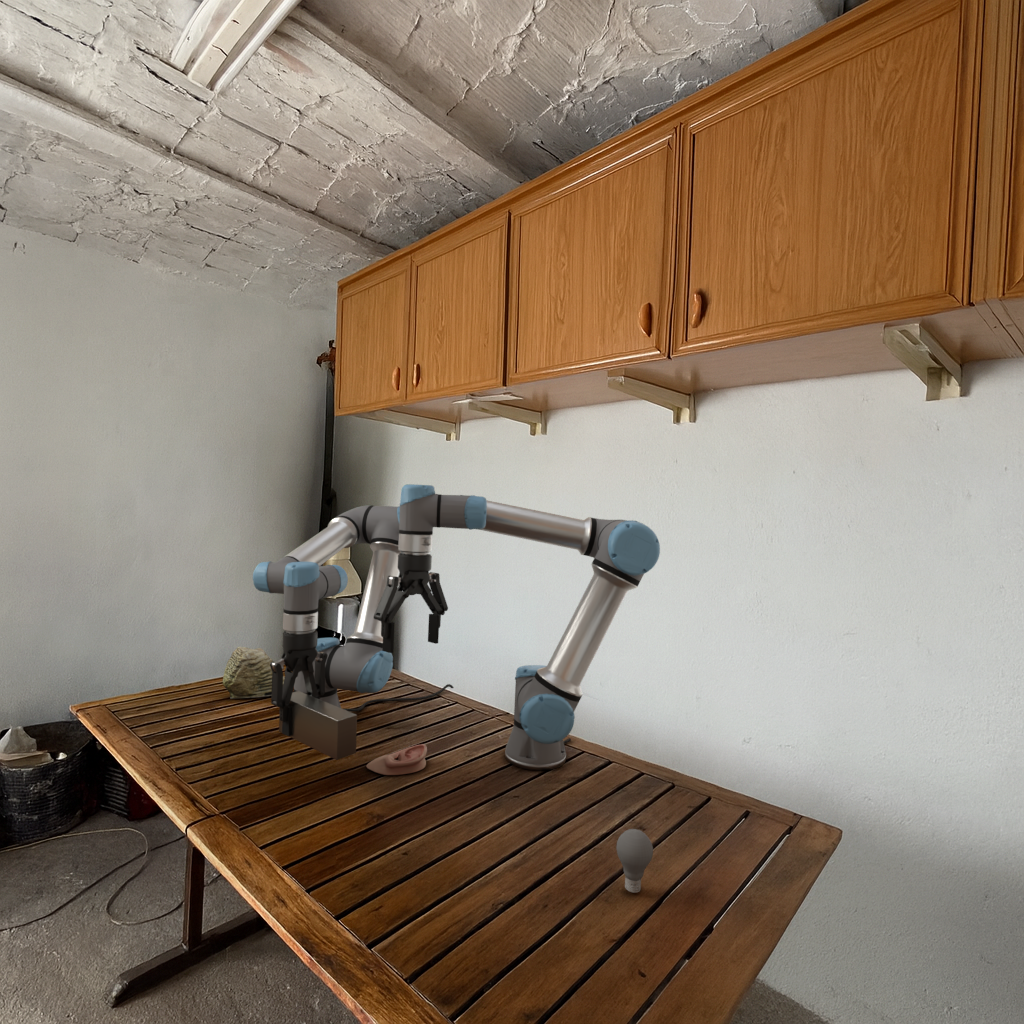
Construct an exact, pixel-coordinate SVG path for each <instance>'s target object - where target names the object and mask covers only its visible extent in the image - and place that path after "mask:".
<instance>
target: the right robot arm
mask: <svg viewBox="0 0 1024 1024" xmlns="http://www.w3.org/2000/svg"><path fill="white" fill-rule="evenodd" d="M399 506H400V520H399V544H398V550H399V551H401V553H400V554H399V555H398V569H399V576H398V577H395V576H388V577H387V583H386V587H385V590H384V592H383V595H382V597H381V600H380V602H379V604H378V607H377V609H376V612H375V614H374V619H376V620H379V621H381V636H382V637H383V648H382V651H385V652H388V653H391V654H394V646H395V645H394V644H395V643H394V642H395V622H394V621H393V620H394V618H395V616H396V615H397V613H398V612H399V610H400V608H401V607H402V605H403V604H404V602H405V601H406V599H408V598H409V597H410V596H415V595H420V596H421V597H422V599H423V601H424V603H425V604H426V606H427V607H428V609H429V610H430V612H431V613H429V614H428V625H427V626H428V628H427V642H428V643H432V644H435V645H436V644H439V636H440V635H439V634H440V633H439V632H440V628H441V623H442V620H441V619H442V616H444V615H445V613H446V612H447V611H448V610H449V606H448V604H447V600H446V597H445V594H444V591H443V588H442V585H441V581H440V579H441V578H440V573H438V572H432V571H431V570H432V562H433V555H432V554H431V552H432V551H433V534H434V533H433V531H434V530H433V529H434V528H445V529H465V530H478V531H483V532H488V533H493V534H499V535H503V536H507V537H512V538H518V539H523V540H528V541H531V542H536V543H537V542H538V543H543V544H547V545H552V546H557V547H561V548H566V549H570V550H571V549H572V550H575V551H578V553H579V554H580V555H581V556H586V557H590V558H593V560H592V561H591V564H590V565H591V568H592V571H593V575H592V577H591V578H590V581H589V582H588V585H587V587H586V588H585V591H584V593H583V594H582V596H581V599H580V600H579V602H578V605H577V606H576V607H575V610H574V612H573V614H572V616H571V618H570V620H569V621H568V624H567V625H566V627H565V630H564V631H563V634H562V635H561V637H560V640H559V642H558V643H557V645H556V647H555V649H554V651H553V653H552V655H551V657H550V659H549V661H548V663H547V665H541V664H528V665H527V664H526V665H521V666H519V667H518V668H517V669H516V672H515V677H514V680H515V686H514V690H515V691H514V709H513V725H512V730H511V732H510V735H509V737H508V741H507V742H506V745H505V749H504V751H505V752H504V758H505V760H506V761H507V762H508V763H509V764H511V765H512V766H515V767H518V768H520V769H524V770H529V771H549V770H554V769H557V768H560V767H562V766H563V765H564V764H565V763H566V760H567V750H566V746H565V744H568V743H570V742H571V741H572V738H570V737H569V738H567V737H568V736H569V735H570V733H571V732H572V730H573V727H574V724H575V718H576V717H575V711H576V708H577V706H578V704H579V702H580V701H581V699H582V697H583V695H584V694H583V689H582V686H581V684H582V682H583V680H584V678H585V676H586V674H587V672H588V670H589V668H590V666H591V664H592V662H593V661H594V658H595V657H596V654H597V652H598V650H599V649H600V646H601V645H602V642H603V641H604V638H605V636H606V635H607V633H608V630H609V629H610V627H611V625H612V623H613V621H614V619H615V617H616V615H617V613H618V611H619V608H621V605H622V603H623V601H624V599H625V598H626V595H627V593H628V592H629V591H631V590H634V589H637V588H638V587H639V584H640V583H641V581H642V579H643V577H644V575H645V574H647V573H648V572H649V571H651V570H652V569H653V568H654V567H655V566H656V564H657V563H658V561H659V558H660V555H661V546H660V545H661V544H660V541H659V538H658V536H657V534H656V533H655V531H653V529H651V527H650V526H648V525H646V524H645V523H643V522H640V521H637V520H633V519H631V520H626V519H604V518H595V517H591V516H588V517H586V518H585V519H581V518H575V517H571V516H565V515H560V514H555V513H551V512H546V511H541V510H535V509H532V508H527V507H522V506H516V505H511V504H507V503H502V502H497V501H492V500H487V497H484V496H481V495H480V496H479V495H473V494H471V495H466V494H465V495H464V494H442V493H441V494H440V493H436V490H435V487H434V485H432V484H431V485H430V484H415V483H414V484H411V483H409V484H404V485H403V486H402V487H401V489H400V503H399ZM428 584H429V585H428ZM380 614H381V615H380ZM566 738H567V739H566ZM564 739H565V740H564Z"/></svg>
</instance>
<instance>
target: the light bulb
mask: <svg viewBox="0 0 1024 1024" xmlns="http://www.w3.org/2000/svg"><path fill="white" fill-rule="evenodd" d="M615 849H616V854H617V857H618V859H619V861H620V863H621V865H622V867H623V873H624V874H623V875H624V876H625V878H624V888H625V890H627V891H628V892H630V893H634V894H635V893H639V892H640V891H641V889H642V887H641V886H642V879H643V877H644V875H645V871H646V868H647V867H648V866H649V864H650V863H651V861H652V859H653V855H654V847H653V843H652V841H651V838H649V836H648V835H647V834H646V833H645V832H643V831H642V830H641V829H636V828H629V829H627V830H625V831H623V832H622V833H621V834H620V835H619V837H618V839H617V841H616V847H615Z"/></svg>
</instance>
